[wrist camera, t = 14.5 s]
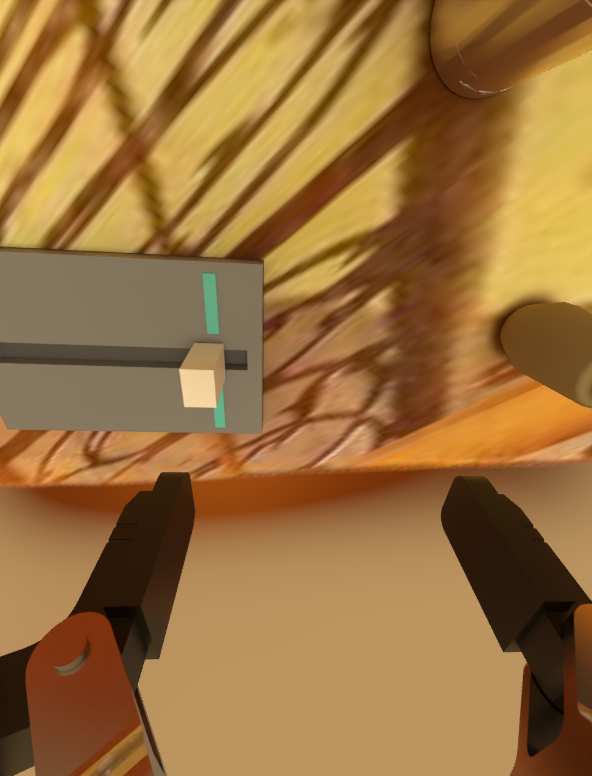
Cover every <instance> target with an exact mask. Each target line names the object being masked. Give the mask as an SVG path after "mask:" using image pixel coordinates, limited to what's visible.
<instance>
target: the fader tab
mask: <svg viewBox="0 0 592 776" xmlns="http://www.w3.org/2000/svg"><path fill="white" fill-rule="evenodd" d="M179 372H180V379H181V387H182V394H183V401H184V407H205V408H217V405H218V401H219V398H220V395H221V391H222V388H223V385H224V381H225V378H226V376H225V359H224V344H216V343H194V344H193V346H192V348H191V349H190V351H189V353H188V355H187V356H186V358H185V360H184V362H183V363H182V365H181V367H180V369H179Z"/></svg>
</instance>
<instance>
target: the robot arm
mask: <svg viewBox="0 0 592 776" xmlns="http://www.w3.org/2000/svg"><path fill="white" fill-rule="evenodd" d="M430 46H431V55H432V59H433V62H434V65H435V69H436V71H437V73H438V75H439V77H440V78H441V80H442V82H443V83H444V84H445V85H446V86H447V87H448V88H449V89H450V90H451V91H452V92H454V93H456V94H457V95H459V96H461V97H465V98H470V99H479V98H485V97H489V96H492V95H495V94H497V93H500V92H502V91H505V90H507V89H509V88H512V87H514V85H517V84H519V83H521V82H523V81H526V80H528V79H530V78H532V77H534V76H537V75H539V74H541V73H543V72H545V71H547V70H549V69H552V68H554V67H556V66H558V65H560V64H562V63H565V62H567V61H569V60H571V59H573V58H575V57H577V56H580V55H582V54H584V53H586V52H588V51H590V50H592V0H435V2H434V6H433V11H432V17H431V23H430ZM194 518H195V506H194V499H193V493H192V486H191V479H190V474H189V473H188V472H162V473H161V474H160V475H159V477H158V479H157V481H156V484H155V486H154V489H153V491H140V492H139V493H138V494H137V495H136V496H135V497H134V498H133V499H132V500H131V501H130V502H129V503H128V504H127V505H126V506H125V507H124V509H123V511H122V513H121V515H120V517H119V519H118V522H117V524H116V528H114V530H113V532H112V534H111V536H110V538H109V542H108V543H107V544H106V546H105V548H104V550H103V552H102V554H101V556H100V558H99V560H98V562H97V564H96V566H95V568H94V570H93V572H92V574H91V576H90V578H89V580H88V582H87V584H86V586H85V588H84V590H83V592H82V594H81V596H80V598H79V600H78V602H77V604H76V606H75V607H74V609H73V611H72V612H71V613H70V615H69V616H68V617H67V618H66V619H65V620H63V621H62V622H60V623H59V624H57V625H56V626H55V627H54V628H52V629H51V630H50V631H49V632H48V633H47V634H46V635H45V636H44V637H43V638H42V640H40V641H39V642H37V643H35V644H33V645H31V646H28V647H26V648H24V649H21V650H18V651H15V652H12V653H9V654H6V655H4V656H1V657H0V776H14V775H16V774H18V773H20V772H22V771H24V770H26V769H29V768H31V767H33V766H35V774H36V776H167V773H166V770H165V767H164V764H163V761H162V758H161V755H160V752H159V749H158V746H157V743H156V740H155V737H154V734H153V730H152V727H151V724H150V721H149V718H148V715H147V712H146V709H145V706H144V703H143V700H142V697H141V694H140V691H139V688H138V681H139V678H140V675H141V671H142V668H143V664H144V661H145V659H159V657H160V653H161V649H162V646H163V642H164V638H165V634H166V630H167V626H168V623H169V619H170V615H171V611H172V607H173V603H174V600H175V596H176V592H177V588H178V584H179V580H180V576H181V573H182V569H183V565H184V561H185V557H186V553H187V550H188V545H189V542H190V538H191V534H192V530H193V526H194ZM441 521H442V526H443V529H444V531H445V533H446V535H447V537H448V539H449V542H450V544H451V546H452V548H453V550H454V552H455V554H456V556H457V558H458V560H459V562H460V564H461V566H462V568H463V570H464V572H465V574H466V577H467V579H468V581H469V583H470V585H471V587H472V589H473V591H474V593H475V595H476V597H477V599H478V601H479V603H480V605H481V607H482V609H483V611H484V614H485V616H486V618H487V619H488V621H489V624H490V626H491V628H492V630H493V632H494V634H495V636H496V638H497V640H498V642H499V644H500V646H501V648H502V650H503V652H522V654H523V655H524V657H525V659H526V661H527V663H526V664H525V666H524V670H523V682H522V695H521V710H520V722H519V736H518V750H517V757H516V761H515V765H514V767H513V770H512V772H511V774H510V776H592V601H591V600H590V599H589V597H588V596H587V595H586V594H585V592H584V591H583V590H582V588H581V587H580V586H579V584H578V583H577V582H576V580H575V579H574V578H573V577H572V575H571V574H570V573H569V571H568V570H567V569H566V567H565V566H564V565H563V563H562V562H561V561H560V559H559V558H558V557H557V556H556V554H555V553H554V552H553V550H552V549H551V548H550V546H549V545H548V544H547V543H545V542H544V538H543V537H542V536H541V535H540V533H539V532H538V531H537V529H534V527H533V524H532V523H531V522H530V520H529V519H528V518H527V516H526V515H525V514H524V512H523V511H522V510H521V509H520V508H519V507H518V506H517V505H516V504H514V503H513V502H512V501H511V500H510V499H508V498H507V497H506V496H505V495H503V494H498V493H497V491H496V490H495V488H494V487H493V486H492V484H491V483H490V482H489V480H488V479H487V478H485V477H483V476H457V477H456V478H455V479H454V480H453V483H452V485H451V488H450V490H449V492H448V495H447V498H446V500H445V503H444V505H443V507H442V510H441Z"/></svg>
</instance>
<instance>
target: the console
mask: <svg viewBox="0 0 592 776" xmlns="http://www.w3.org/2000/svg"><path fill="white" fill-rule="evenodd" d="M263 285H264V260H254V259H235V258H215V257H195V256H175V255H155V254H135V253H116V252H96V251H76V250H56V249H36V248H16V247H0V415H1V417H2V419H3V421H4V423H5V425H6V427H7V429H18V430H76V431H134V432H191V433H249V434H262V426H263ZM194 343H216V344H224V359H225V376H226V378H225V381H224V385H223V388H222V391H221V395H220V398H219V401H218V405H217V408H205V407H184V401H183V394H182V387H181V379H180V372H179V369H180V367H181V365H182V363H183V362H184V360H185V358H186V356H187V355H188V353H189V351H190V349H191V348H192V346H193V344H194Z"/></svg>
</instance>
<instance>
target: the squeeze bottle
mask: <svg viewBox="0 0 592 776" xmlns="http://www.w3.org/2000/svg"><path fill="white" fill-rule="evenodd" d="M500 339H501V343H502V346H503V348H504V350H505V352H506V355H507V357H508V359H509V361H510V363H511V364H512V365H513V366H514V367H515V368H516V369H517V370H518V371H519V372H521V373H523V374H525V375H527V376H529V377H530V378H532V379H534V380H536V381H538V382H539V383H541V384H543V385H545V386H547V387H548V388H550V389H552V390H554V391H556V392H558V393H559V394H561V395H563V396H565V397H567V398H568V399H570V400H572V401H574V402H576V403H578V404H579V405H581V406H584V407H589V408H592V313H590V312H588V311H586V310H584V309H582V308H581V307H579V306H576V305H572V304H569V303H565V302H562V303H537V304H530V305H526V306H524V307H522V308H520V309H518V310H516V311H515V312H514V313H513V314H512V315H510V316H509V317H508V318H507V320H506V321H505V323H504V325H503V327H502V329H501V334H500Z"/></svg>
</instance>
